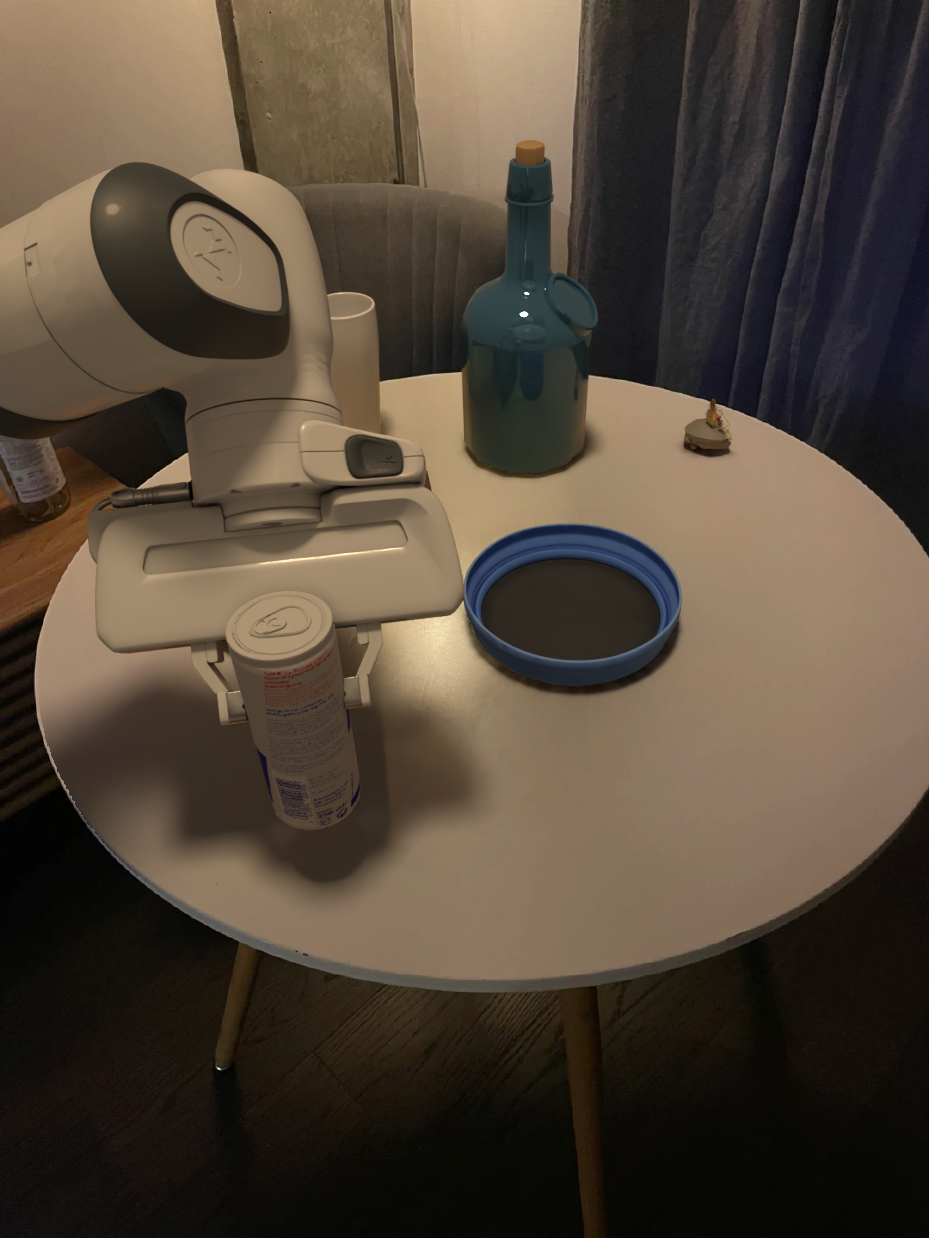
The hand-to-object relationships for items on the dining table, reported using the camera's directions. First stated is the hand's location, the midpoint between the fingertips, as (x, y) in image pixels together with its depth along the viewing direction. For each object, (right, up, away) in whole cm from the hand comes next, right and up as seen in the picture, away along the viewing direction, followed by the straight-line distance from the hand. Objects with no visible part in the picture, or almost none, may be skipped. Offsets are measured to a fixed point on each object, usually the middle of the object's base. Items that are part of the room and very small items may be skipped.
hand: (298, 715), depth 50 cm
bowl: (+18, +5, +26) cm, 32 cm away
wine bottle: (+16, +24, +47) cm, 55 cm away
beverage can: (0, -6, +6) cm, 9 cm away
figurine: (+35, +24, +46) cm, 63 cm away
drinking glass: (-3, +26, +50) cm, 56 cm away
